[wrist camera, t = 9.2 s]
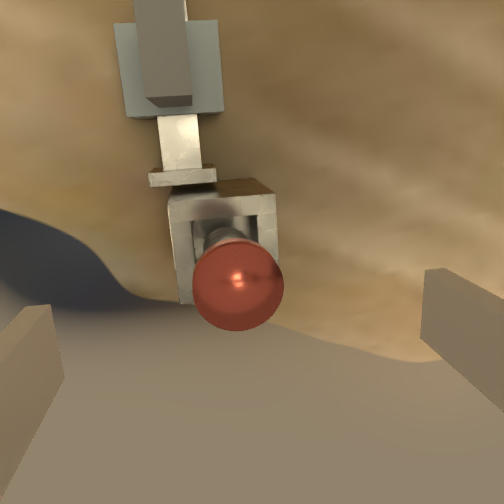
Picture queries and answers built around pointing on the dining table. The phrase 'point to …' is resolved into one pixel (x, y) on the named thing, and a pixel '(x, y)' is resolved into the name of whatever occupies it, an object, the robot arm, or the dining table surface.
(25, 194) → the dining table surface
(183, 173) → the rail
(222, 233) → the plunger
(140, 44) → the carriage
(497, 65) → the dining table surface
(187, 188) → the grey square housing
